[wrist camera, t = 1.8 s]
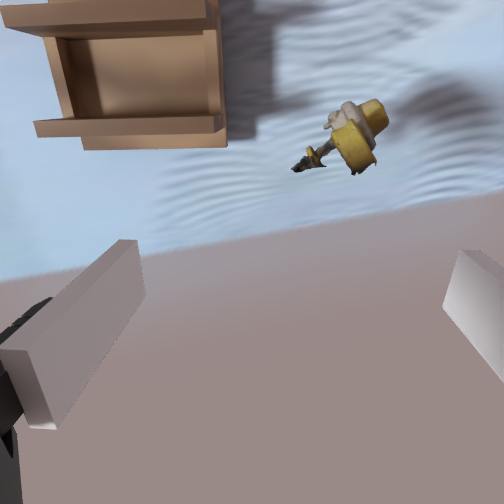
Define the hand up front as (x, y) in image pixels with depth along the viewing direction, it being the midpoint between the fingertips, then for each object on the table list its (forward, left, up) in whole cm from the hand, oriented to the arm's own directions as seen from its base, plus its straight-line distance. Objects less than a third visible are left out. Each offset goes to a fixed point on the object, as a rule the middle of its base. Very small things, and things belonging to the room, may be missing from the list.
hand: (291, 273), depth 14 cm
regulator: (-4, +4, -23) cm, 24 cm away
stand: (-9, -12, -23) cm, 27 cm away
